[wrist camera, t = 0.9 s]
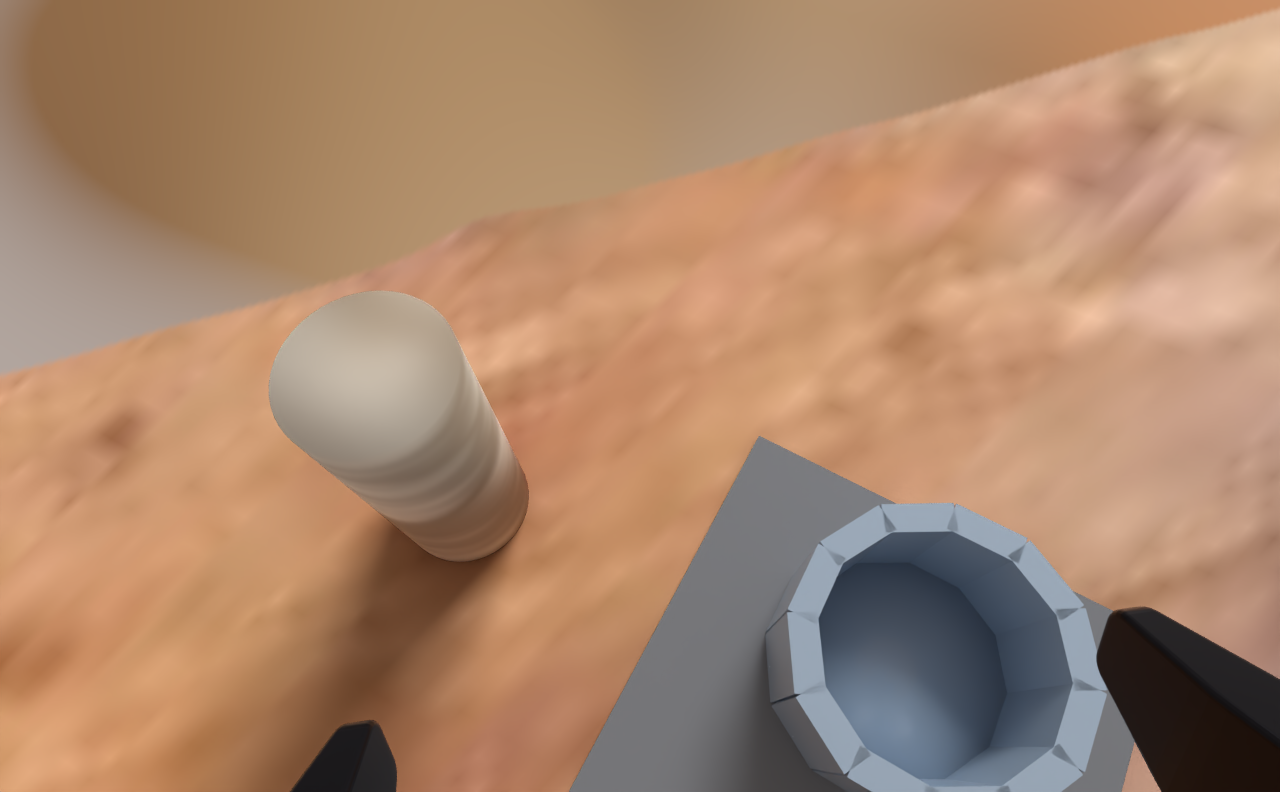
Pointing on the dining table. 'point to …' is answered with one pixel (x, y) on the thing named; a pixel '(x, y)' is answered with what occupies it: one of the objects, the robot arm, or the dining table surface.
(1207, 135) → the dining table surface
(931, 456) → the dining table surface
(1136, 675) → the robot arm
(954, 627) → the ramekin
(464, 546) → the stopper
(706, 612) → the mat
